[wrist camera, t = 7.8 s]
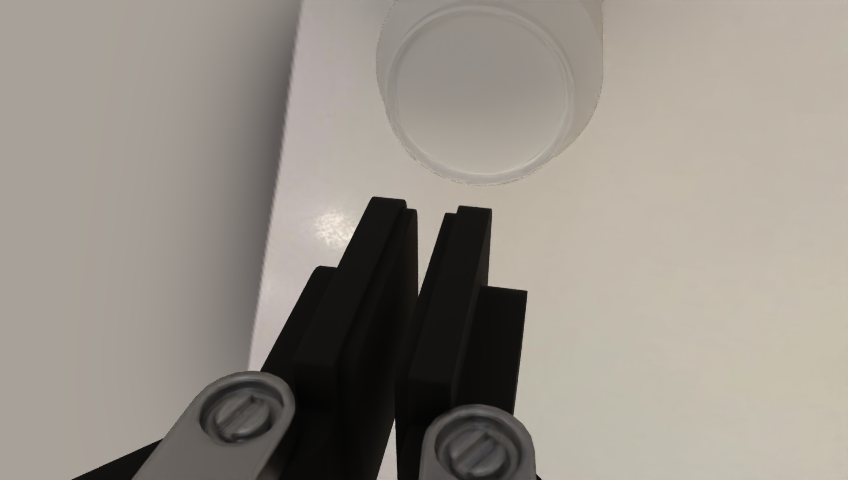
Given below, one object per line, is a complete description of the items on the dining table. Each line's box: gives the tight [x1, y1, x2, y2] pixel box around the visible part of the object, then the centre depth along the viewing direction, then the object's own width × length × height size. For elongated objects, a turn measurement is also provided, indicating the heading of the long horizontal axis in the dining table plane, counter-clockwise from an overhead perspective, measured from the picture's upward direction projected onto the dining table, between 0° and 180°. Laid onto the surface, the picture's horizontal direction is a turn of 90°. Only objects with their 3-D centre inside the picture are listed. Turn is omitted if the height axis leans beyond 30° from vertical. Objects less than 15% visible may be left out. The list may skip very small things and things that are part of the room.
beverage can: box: [376, 0, 603, 186], centre depth 23 cm, size 6×6×12 cm
